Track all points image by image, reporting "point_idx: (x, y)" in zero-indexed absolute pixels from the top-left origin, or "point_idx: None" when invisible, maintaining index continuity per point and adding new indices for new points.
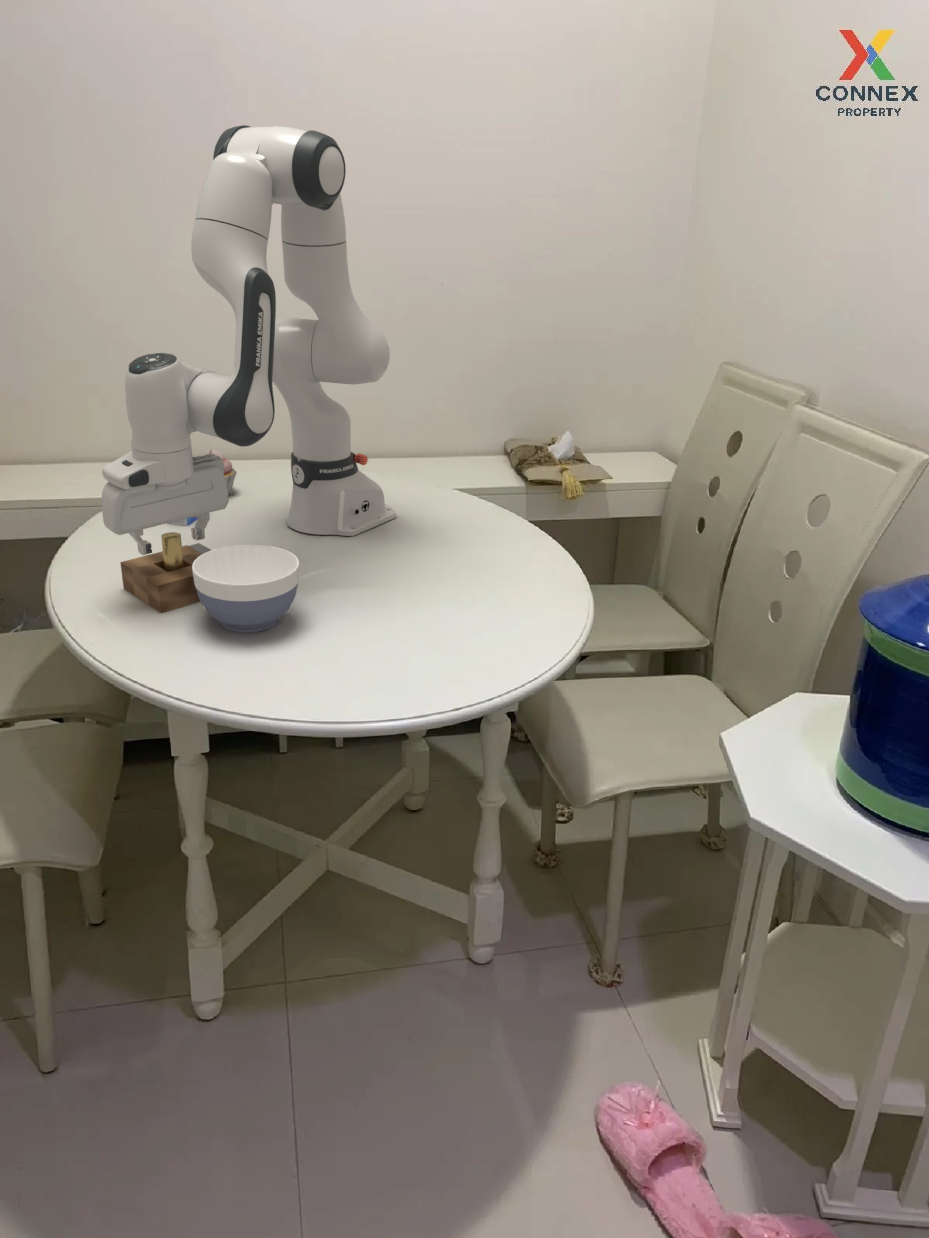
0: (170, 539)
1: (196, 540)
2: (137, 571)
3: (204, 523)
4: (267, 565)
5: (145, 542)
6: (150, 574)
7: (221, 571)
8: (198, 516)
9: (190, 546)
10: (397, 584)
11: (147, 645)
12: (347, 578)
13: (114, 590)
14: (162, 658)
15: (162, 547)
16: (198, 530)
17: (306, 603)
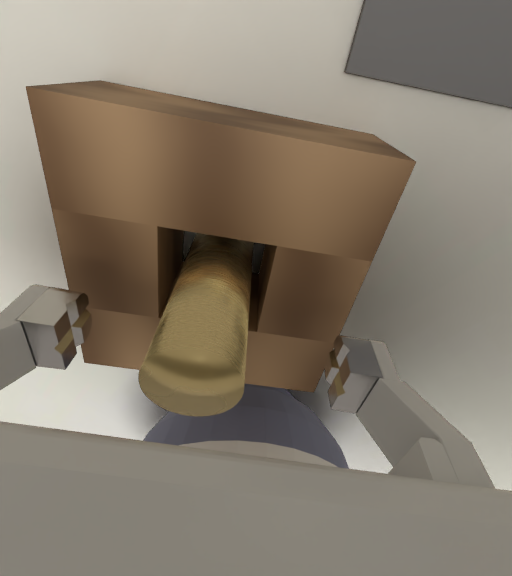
0: (163, 405)
1: (326, 361)
2: (65, 243)
3: (386, 451)
4: None
5: (40, 347)
6: (98, 295)
7: (258, 428)
8: (403, 467)
9: None
10: (506, 471)
11: (41, 368)
12: (506, 423)
13: (68, 46)
14: (50, 405)
15: (160, 321)
16: (345, 409)
17: (359, 431)
